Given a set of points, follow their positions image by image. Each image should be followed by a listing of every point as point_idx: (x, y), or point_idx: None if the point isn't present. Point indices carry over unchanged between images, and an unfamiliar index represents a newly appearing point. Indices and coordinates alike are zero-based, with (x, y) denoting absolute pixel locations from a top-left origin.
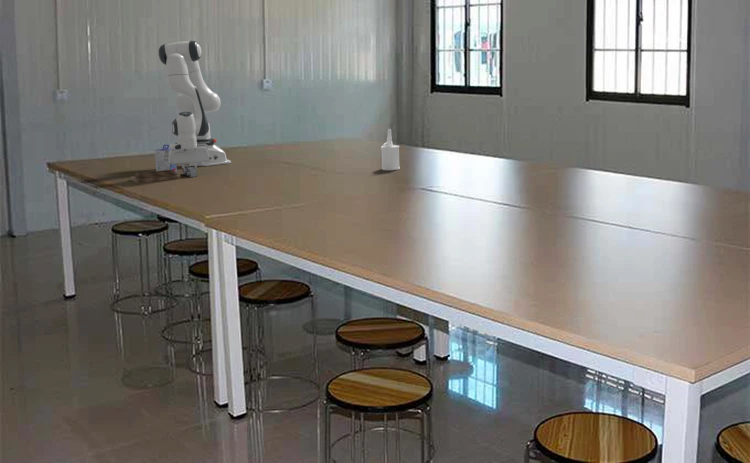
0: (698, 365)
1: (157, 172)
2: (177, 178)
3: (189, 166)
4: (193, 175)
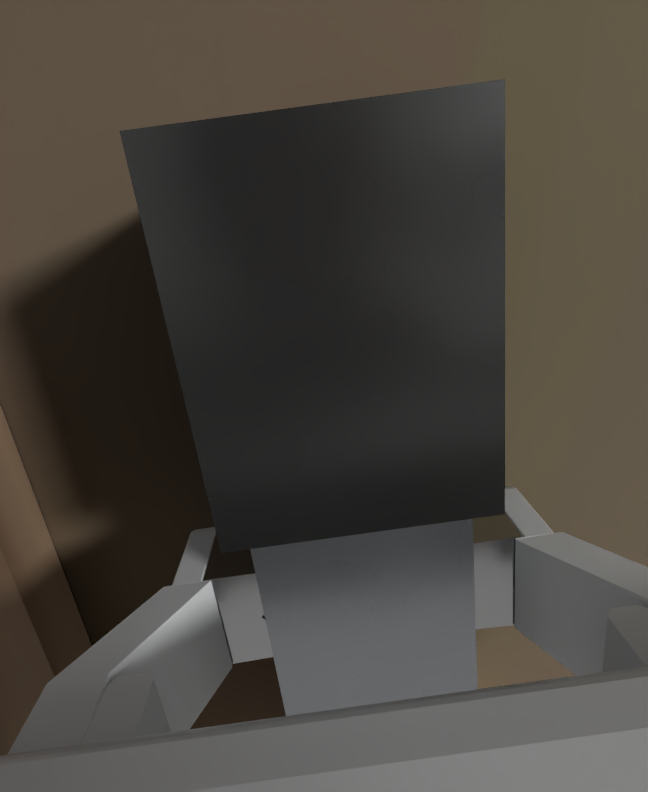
0: None
1: None
2: None
3: (389, 519)
4: None
